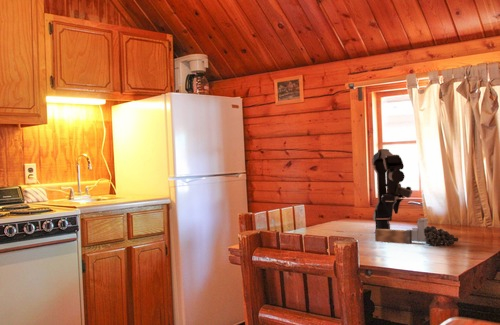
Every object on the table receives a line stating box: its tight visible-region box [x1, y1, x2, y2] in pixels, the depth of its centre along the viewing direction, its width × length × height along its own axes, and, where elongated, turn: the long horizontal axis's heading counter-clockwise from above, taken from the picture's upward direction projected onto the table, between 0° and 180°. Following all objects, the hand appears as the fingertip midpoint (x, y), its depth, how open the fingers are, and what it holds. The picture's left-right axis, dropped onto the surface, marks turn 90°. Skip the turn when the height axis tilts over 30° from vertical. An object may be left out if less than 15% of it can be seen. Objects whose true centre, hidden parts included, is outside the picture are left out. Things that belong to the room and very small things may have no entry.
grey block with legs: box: [411, 217, 429, 242], centre depth 237 cm, size 7×8×10 cm
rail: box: [374, 228, 413, 245], centre depth 233 cm, size 16×4×6 cm, turn 57°
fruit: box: [424, 225, 459, 247], centre depth 222 cm, size 9×8×15 cm
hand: (393, 214), depth 235 cm, fingers open, 9 cm apart
